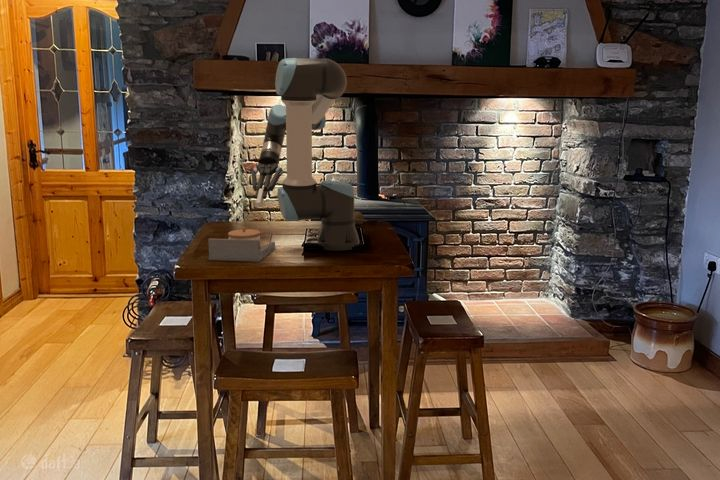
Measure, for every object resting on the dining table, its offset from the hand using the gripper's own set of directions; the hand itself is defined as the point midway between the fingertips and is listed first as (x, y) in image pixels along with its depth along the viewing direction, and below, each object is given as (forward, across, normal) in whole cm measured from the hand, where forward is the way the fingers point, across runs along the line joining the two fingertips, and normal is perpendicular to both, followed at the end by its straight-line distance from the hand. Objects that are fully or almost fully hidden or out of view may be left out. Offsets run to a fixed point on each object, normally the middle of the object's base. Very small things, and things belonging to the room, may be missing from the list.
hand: (259, 204), depth 237 cm
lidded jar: (+25, -1, +4) cm, 25 cm away
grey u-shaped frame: (+24, 0, +4) cm, 24 cm away
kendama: (-13, -26, -33) cm, 44 cm away
